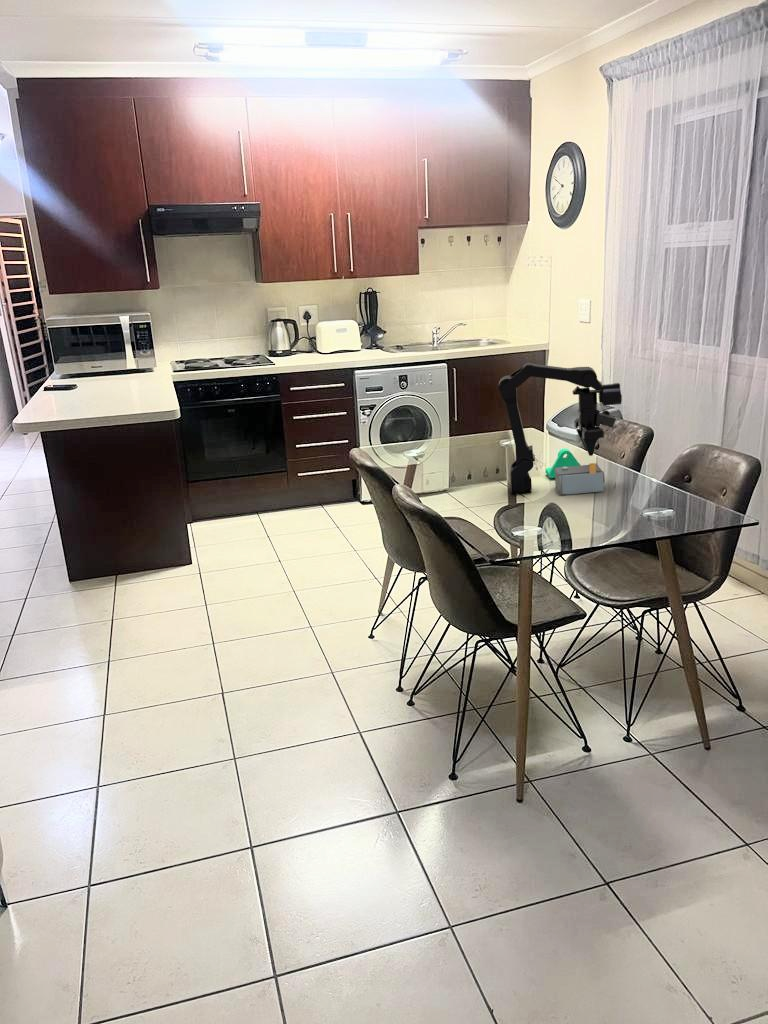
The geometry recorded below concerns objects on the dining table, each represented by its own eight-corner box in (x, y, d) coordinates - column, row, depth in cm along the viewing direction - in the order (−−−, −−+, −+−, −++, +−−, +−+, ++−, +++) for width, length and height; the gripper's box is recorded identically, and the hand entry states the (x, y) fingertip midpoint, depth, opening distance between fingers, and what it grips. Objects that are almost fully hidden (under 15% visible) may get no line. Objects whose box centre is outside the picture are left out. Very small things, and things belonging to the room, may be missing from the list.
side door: (559, 495, 247) (558, 467, 244) (559, 494, 248) (557, 466, 245) (603, 491, 246) (603, 463, 243) (603, 490, 247) (602, 462, 244)
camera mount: (578, 471, 271) (577, 443, 268) (584, 477, 264) (583, 448, 260) (545, 475, 271) (543, 447, 268) (550, 481, 264) (548, 453, 260)
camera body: (559, 494, 248) (558, 472, 246) (555, 487, 256) (554, 466, 253) (606, 490, 247) (605, 468, 244) (600, 483, 254) (600, 461, 252)
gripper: (620, 410, 233) (620, 458, 238) (607, 398, 251) (607, 443, 256) (583, 413, 234) (585, 461, 239) (573, 402, 252) (574, 447, 257)
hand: (589, 453), depth 248 cm, fingers open, 6 cm apart
